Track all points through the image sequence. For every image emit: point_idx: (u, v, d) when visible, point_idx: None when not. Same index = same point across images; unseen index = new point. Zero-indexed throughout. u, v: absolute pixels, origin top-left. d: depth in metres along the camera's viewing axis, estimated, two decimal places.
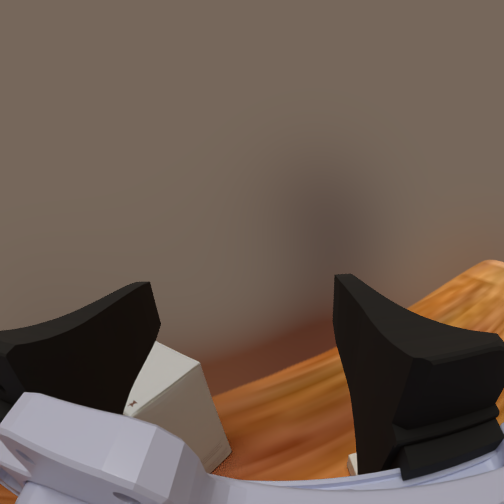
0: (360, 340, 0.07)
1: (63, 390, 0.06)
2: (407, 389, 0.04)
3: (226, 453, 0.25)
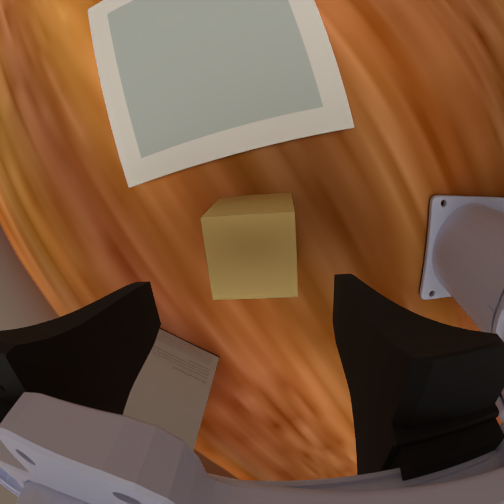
0: (360, 340, 0.07)
1: (63, 390, 0.06)
2: (407, 389, 0.04)
3: None
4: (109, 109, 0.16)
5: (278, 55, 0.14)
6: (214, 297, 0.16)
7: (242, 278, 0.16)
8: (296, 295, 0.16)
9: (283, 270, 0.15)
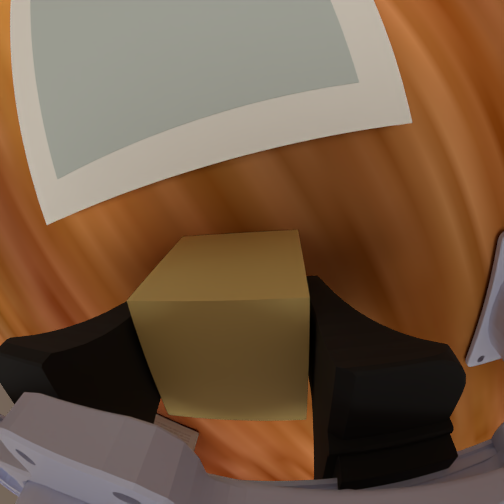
0: (315, 344, 0.08)
1: (100, 399, 0.06)
2: (335, 399, 0.04)
3: None
4: (19, 106, 0.09)
5: None
6: (170, 412, 0.09)
7: (212, 395, 0.08)
8: (304, 417, 0.08)
9: (283, 388, 0.08)
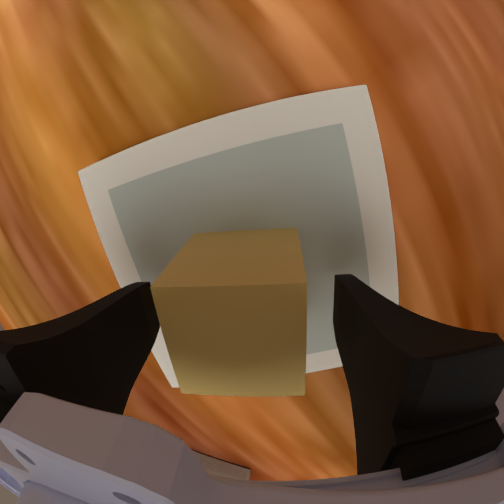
0: (360, 340, 0.07)
1: (63, 390, 0.06)
2: (407, 389, 0.04)
3: None
4: None
5: None
6: (183, 390, 0.10)
7: (221, 372, 0.10)
8: (303, 393, 0.10)
9: (285, 364, 0.09)
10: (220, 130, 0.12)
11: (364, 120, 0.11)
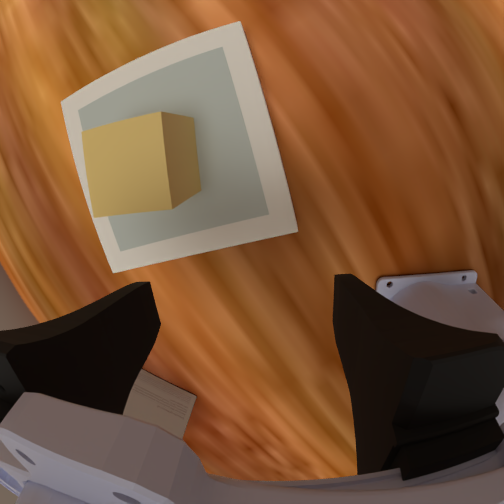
0: (360, 340, 0.07)
1: (63, 390, 0.06)
2: (408, 389, 0.04)
3: None
4: (90, 206, 0.20)
5: (229, 166, 0.18)
6: (95, 215, 0.14)
7: (116, 190, 0.14)
8: (170, 207, 0.14)
9: (154, 177, 0.13)
10: (146, 63, 0.16)
11: (238, 42, 0.15)
